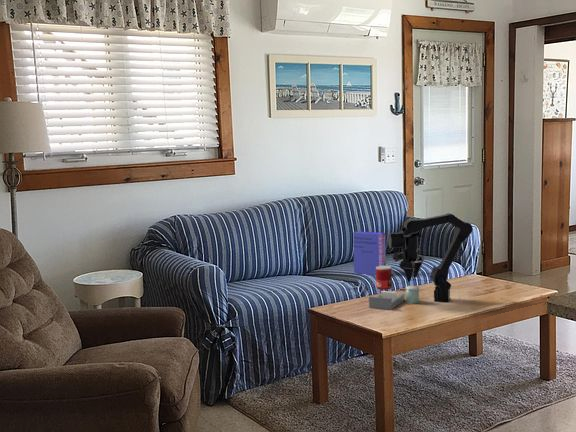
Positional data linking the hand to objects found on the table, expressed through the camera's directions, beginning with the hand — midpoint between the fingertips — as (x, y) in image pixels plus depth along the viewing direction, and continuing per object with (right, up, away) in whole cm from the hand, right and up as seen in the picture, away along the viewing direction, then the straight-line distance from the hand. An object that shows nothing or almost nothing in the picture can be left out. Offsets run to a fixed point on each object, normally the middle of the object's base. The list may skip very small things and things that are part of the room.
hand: (412, 279), depth 302 cm
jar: (0, -11, +1) cm, 11 cm away
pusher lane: (-11, -11, +1) cm, 16 cm away
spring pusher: (-10, -10, +2) cm, 15 cm away
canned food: (-8, -8, +31) cm, 33 cm away
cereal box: (-11, -4, +65) cm, 66 cm away
